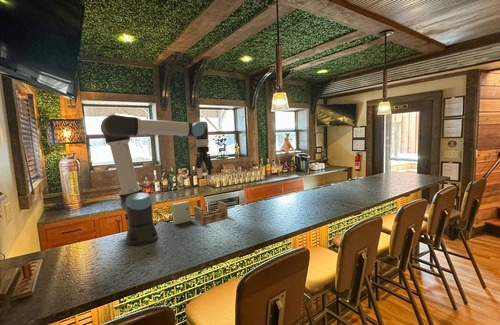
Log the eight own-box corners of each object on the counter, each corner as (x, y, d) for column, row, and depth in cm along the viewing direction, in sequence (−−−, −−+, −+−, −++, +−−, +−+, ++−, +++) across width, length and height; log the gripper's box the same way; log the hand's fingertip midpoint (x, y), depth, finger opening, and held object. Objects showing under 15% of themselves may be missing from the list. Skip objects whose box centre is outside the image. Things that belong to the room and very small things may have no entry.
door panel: (175, 224, 149) (173, 205, 148) (173, 223, 152) (171, 203, 151) (191, 220, 155) (189, 201, 154) (188, 219, 158) (187, 201, 157)
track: (201, 224, 147) (200, 209, 146) (194, 220, 155) (193, 206, 155) (227, 217, 158) (227, 203, 157) (220, 214, 166) (219, 201, 165)
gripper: (217, 145, 152) (218, 180, 154) (199, 146, 172) (201, 176, 174) (206, 146, 147) (207, 181, 149) (189, 146, 168) (191, 177, 169)
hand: (204, 179), depth 161 cm, fingers open, 13 cm apart
